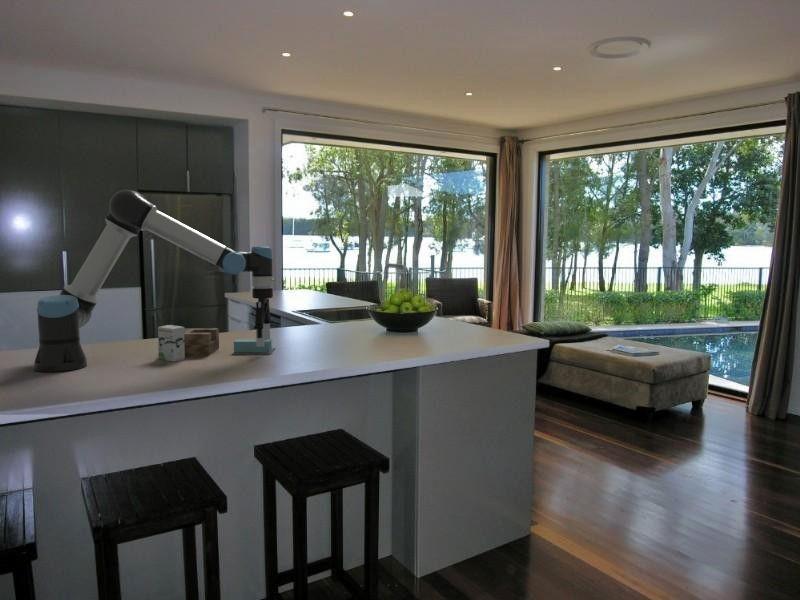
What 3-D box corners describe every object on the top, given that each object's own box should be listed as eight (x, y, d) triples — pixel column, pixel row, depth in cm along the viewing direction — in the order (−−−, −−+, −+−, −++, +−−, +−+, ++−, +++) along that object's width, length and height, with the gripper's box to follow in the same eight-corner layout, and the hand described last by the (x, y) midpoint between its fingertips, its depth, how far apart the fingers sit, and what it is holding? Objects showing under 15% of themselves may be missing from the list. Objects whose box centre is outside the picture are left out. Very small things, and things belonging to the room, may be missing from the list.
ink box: (157, 359, 213) (156, 326, 212) (169, 357, 217) (168, 324, 216) (174, 361, 209) (173, 328, 208) (185, 359, 213) (184, 326, 212)
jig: (164, 355, 219) (163, 334, 218) (177, 348, 234) (176, 328, 233) (209, 355, 220) (208, 334, 219) (219, 348, 235) (218, 328, 234)
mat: (232, 354, 222) (232, 353, 222) (239, 349, 234) (239, 348, 234) (270, 354, 222) (270, 353, 222) (275, 348, 234) (275, 347, 234)
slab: (233, 352, 225) (233, 341, 224) (237, 349, 231) (237, 339, 230) (269, 352, 225) (268, 341, 225) (271, 349, 231) (271, 339, 231)
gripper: (267, 290, 214) (268, 349, 216) (277, 285, 239) (278, 338, 241) (245, 290, 213) (246, 349, 215) (258, 285, 238) (259, 338, 240)
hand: (263, 343), depth 228 cm, fingers open, 13 cm apart
